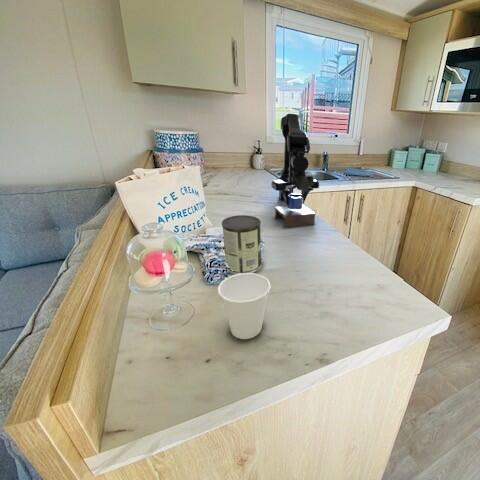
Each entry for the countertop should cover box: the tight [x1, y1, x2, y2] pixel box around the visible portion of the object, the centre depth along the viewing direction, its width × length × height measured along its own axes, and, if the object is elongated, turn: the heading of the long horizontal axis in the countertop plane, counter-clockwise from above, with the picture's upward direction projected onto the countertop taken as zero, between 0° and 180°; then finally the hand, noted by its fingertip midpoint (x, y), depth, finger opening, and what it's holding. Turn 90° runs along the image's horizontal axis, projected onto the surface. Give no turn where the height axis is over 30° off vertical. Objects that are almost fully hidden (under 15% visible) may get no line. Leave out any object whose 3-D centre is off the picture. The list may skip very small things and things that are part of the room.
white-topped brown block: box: [274, 204, 316, 229], centre depth 116 cm, size 13×12×5 cm
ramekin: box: [286, 192, 304, 210], centre depth 113 cm, size 6×6×5 cm
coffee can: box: [221, 214, 262, 275], centre depth 78 cm, size 10×10×14 cm
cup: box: [217, 272, 272, 340], centre depth 55 cm, size 10×10×11 cm
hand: (295, 204), depth 114 cm, fingers closed on ramekin, 6 cm apart
